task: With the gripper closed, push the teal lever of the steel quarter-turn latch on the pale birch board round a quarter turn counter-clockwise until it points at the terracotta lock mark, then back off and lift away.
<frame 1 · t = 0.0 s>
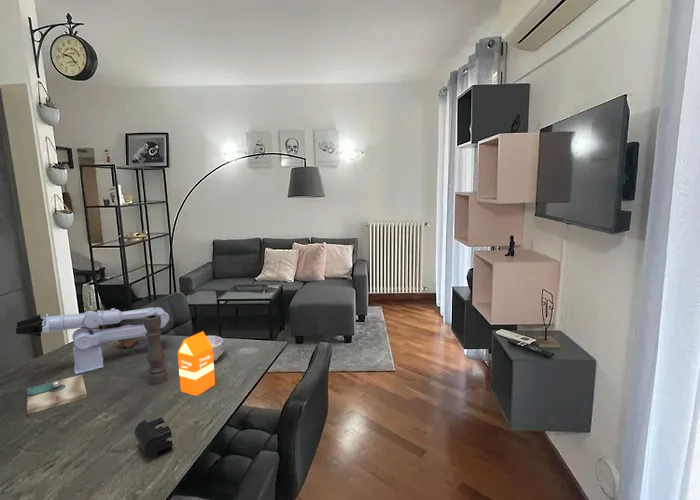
hand: (16, 327, 141), 22 cm above the table, tool horizontal, fingers open, 7 cm apart
bayonet coupling: (44, 387, 135), point 3 cm above the table, hinge at 0.0°
end cap: (154, 449, 107), on the table
candle holder: (158, 381, 145), on the table
paper bowls: (205, 359, 163), on the table
orange juice: (198, 388, 140), on the table
cupcake: (128, 346, 177), on the table
latch board: (57, 394, 136), on the table
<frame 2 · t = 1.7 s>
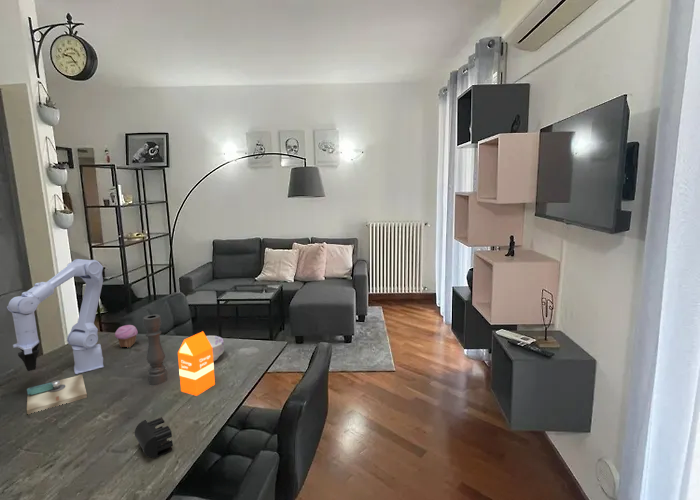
hand: (31, 366, 137), 9 cm above the table, tool pointing down, fingers open, 6 cm apart
nothing on the table moved.
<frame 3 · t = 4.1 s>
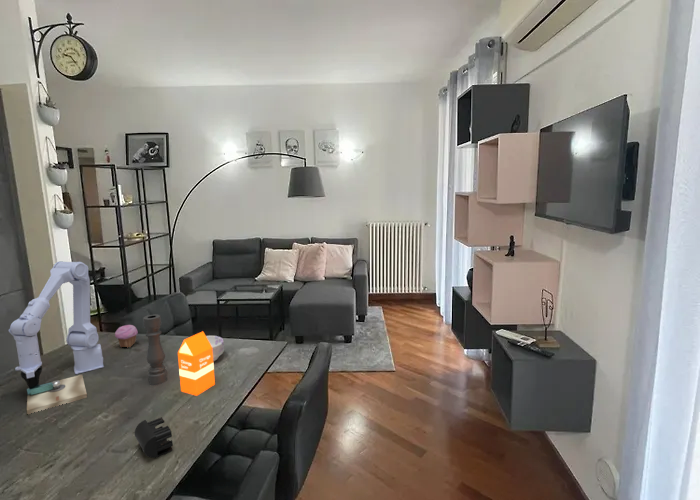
hand: (34, 389, 135), 3 cm above the table, tool pointing down, fingers closed
bayonet coupling: (44, 387, 135), point 3 cm above the table, hinge at 0.0°, touching gripper
everything else where it was.
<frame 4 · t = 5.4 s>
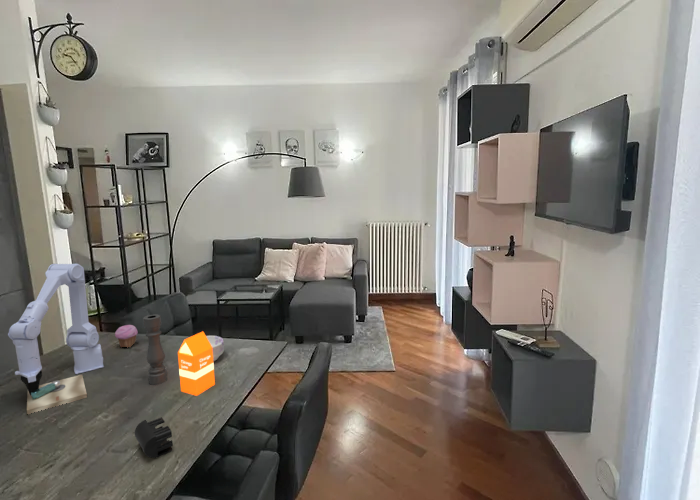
hand: (34, 393, 132), 2 cm above the table, tool pointing down, fingers closed, pressing on bayonet coupling
bayonet coupling: (46, 389, 134), point 3 cm above the table, hinge at 34.0°, touching gripper
everything else where it was.
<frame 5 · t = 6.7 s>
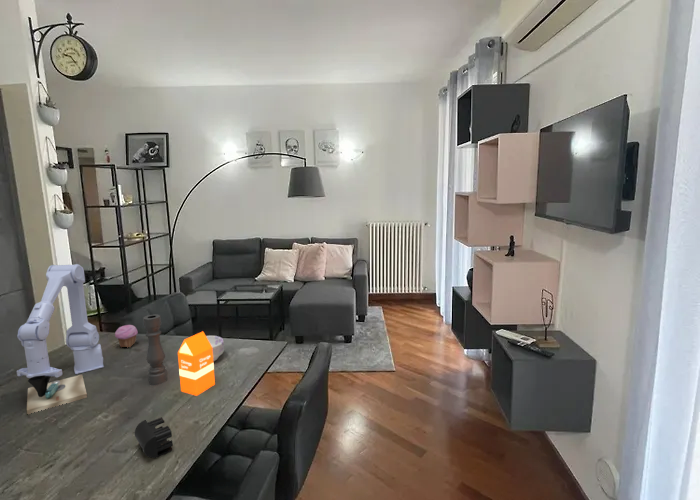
hand: (43, 395, 131), 3 cm above the table, tool pointing down, fingers closed, pressing on bayonet coupling
bayonet coupling: (52, 389, 134), point 3 cm above the table, hinge at 71.6°, touching gripper
everything else where it was.
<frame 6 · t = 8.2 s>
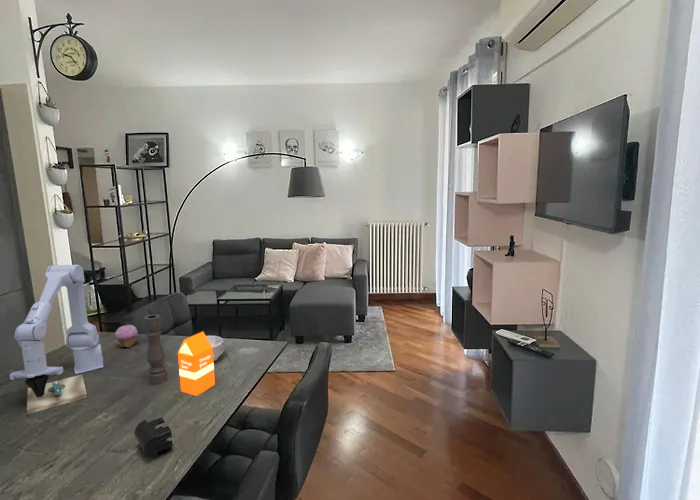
hand: (40, 395, 131), 3 cm above the table, tool pointing down, fingers closed
bayonet coupling: (56, 388, 135), point 3 cm above the table, hinge at 92.8°
everything else where it was.
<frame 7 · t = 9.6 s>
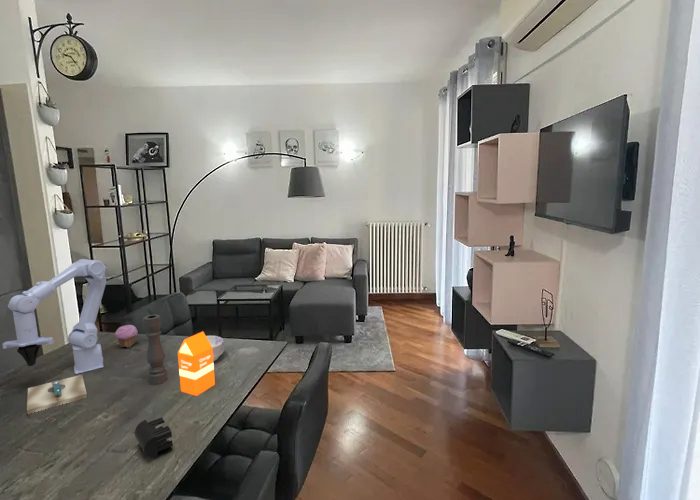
hand: (31, 364, 138), 9 cm above the table, tool pointing down, fingers closed
nothing on the table moved.
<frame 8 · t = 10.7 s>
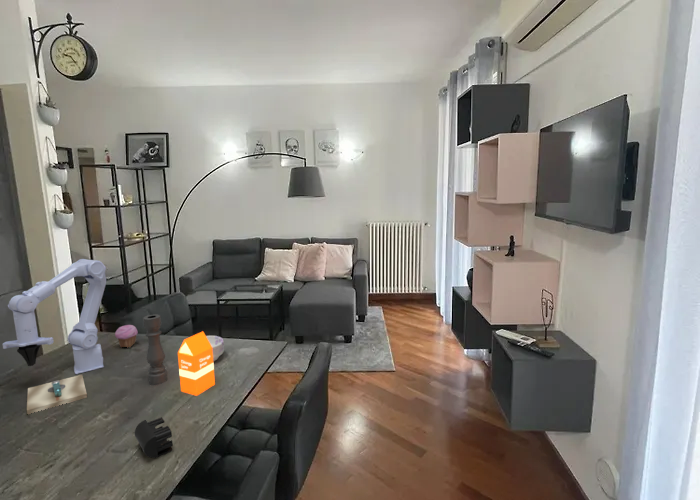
hand: (31, 364, 138), 9 cm above the table, tool pointing down, fingers closed
nothing on the table moved.
at the end: bayonet coupling at +93° (first picture: +0°); the gripper is holding nothing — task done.
